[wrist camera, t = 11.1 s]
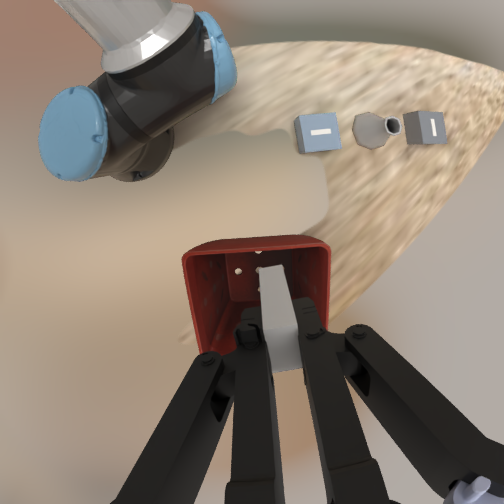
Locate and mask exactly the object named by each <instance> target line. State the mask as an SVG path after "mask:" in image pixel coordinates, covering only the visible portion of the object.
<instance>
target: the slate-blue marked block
mask: <svg viewBox="0 0 504 504" xmlns="http://www.w3.org/2000/svg"><path fill="white" fill-rule="evenodd" d="M294 124H295V130H296V136H297V141H298V147H299V153H300V154H301V153H309V152H318V151H327V150H335V149H342V146H341V140H340V134H339V128H338V123H337V117H336V112H335V113H322V114H311V115H301V116H298V117H297V118H296V119H295V120H294Z"/></svg>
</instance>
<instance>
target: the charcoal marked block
mask: <svg viewBox="0 0 504 504" xmlns="http://www.w3.org/2000/svg"><path fill="white" fill-rule="evenodd" d="M403 119H404V125H405V131H406V138H407V144H447V138H446V131H445V124H444V118H443V112H429V111H416V112H411V113H407V114H403Z"/></svg>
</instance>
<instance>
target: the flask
mask: <svg viewBox="0 0 504 504" xmlns="http://www.w3.org/2000/svg"><path fill="white" fill-rule="evenodd" d="M352 130H353V133H354V136H355V138H356V141H357V144H358V145H361V146H363V147H366V148H368V149H371V150H372V149H375V148H378V147H381V146H384V145H385V143H386V141H387V139H388V138H389V136H390V135H393V136H395V135H398V134H401V130H402V125H401V122H400V119H398V118H396V117H394V116H390V117H386V118H385V119H384V118H382V117H379V116H377V115H375V114H372V113H370V112H367V113H363V114H360V115H356V116H355V121H354V125H353V129H352Z"/></svg>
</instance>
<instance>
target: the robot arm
mask: <svg viewBox="0 0 504 504" xmlns="http://www.w3.org/2000/svg"><path fill="white" fill-rule="evenodd" d="M54 1H55V2H56V3H57V4H58V5H59V6H60V7H61V8H62V9H63V10H65V11H66V13H67V14H69V15H70V16H71V17H72V18H73V19H74V20H75V21H76V22H77V23H78V24H79V25H80V26H81V27H82V28H83V29H84V30H85V31H86V32H87V33H88V34H89V35H90V36H91V37H92V38H93V39H94V40H95V41H96V42H97V43H98V44H99V45H100V46H101V47H102V48H103V54H102V59H101V67H102V69H103V70H104V71H105V73H103V74H102V75H101V76H100V77H98V78H97V79H96V80H95V81H93V82H92V83H91V84H90V85H89V86H88V87H85V86H76V87H70V88H67V89H65V90H63V91H62V92H60V93H59V94H57V95H56V96H55V97H54V98H53V99H52V101H51V102H50V103H49V105H48V106H47V108H46V110H45V112H44V114H43V117H42V119H41V123H40V133H39V136H38V143H39V151H40V155H41V158H42V161H43V163H44V165H45V166H46V168H47V169H48V170H49V172H50V173H51V174H52V175H54V176H55V177H57V178H58V179H61V180H65V181H79V182H80V181H84V180H88V179H92V178H97V177H103V176H109V175H110V176H111V177H113V178H115V179H117V180H120V181H125V182H135V181H140V180H144V179H147V178H149V177H151V176H153V175H154V174H156V173H157V172H158V171H159V170H160V169H161V168H162V167H163V166H164V165H165V163H166V162H167V160H168V159H169V156H170V154H171V152H172V148H173V143H174V132H173V127H172V126H174V125H175V124H177V123H178V122H180V121H182V120H183V119H185V118H187V117H188V116H190V115H192V114H193V113H195V112H197V111H198V110H200V109H202V108H204V107H205V106H207V105H211V104H212V103H214V102H215V100H216V99H218V98H219V97H221V96H223V95H224V94H226V93H227V92H229V91H230V90H232V89H233V87H234V86H235V84H236V81H237V69H236V64H235V61H234V57H233V55H232V52H231V49H230V47H229V44H228V42H227V41H226V40H225V39H224V35H223V33H222V30H221V28H220V27H219V25H218V23H217V22H216V21H215V19H214V18H213V17H212V16H211V15H210V14H209V13H207V12H203V11H202V12H196V13H195V12H194V10H193V8H192V7H191V6H190V5H187V4H182V3H174V2H171V0H54ZM259 280H260V294H261V306H258V307H252V308H246V309H244V311H243V312H242V314H241V324H240V325H238V326H237V327H236V328H235V329H234V331H233V335H234V339H235V342H236V346H237V348H236V349H235V350H234V351H232V352H230V353H228V354H225V355H222V356H221V354H220V353H218V352H216V351H207V352H204V353H201V354H200V355H198V356H197V357H196V358H195V360H194V361H193V363H192V365H191V367H190V368H189V370H188V372H187V374H186V375H185V377H184V379H183V381H182V383H181V384H180V386H179V388H178V390H177V391H176V393H175V395H174V397H173V399H172V400H171V402H170V404H169V406H168V407H167V409H166V411H165V413H164V414H163V416H162V418H161V420H160V421H159V423H158V425H157V427H156V429H155V430H154V432H153V434H152V436H151V437H150V439H149V441H148V443H147V445H146V446H145V448H144V450H143V451H142V453H141V455H140V457H139V459H138V460H137V462H136V464H135V466H134V467H133V469H132V471H131V473H130V475H129V476H128V478H127V480H126V482H125V483H124V485H123V487H122V488H121V490H120V492H119V494H118V495H117V497H116V499H115V500H114V501H112V502H111V503H110V504H194V502H195V499H196V497H197V495H198V492H199V490H200V487H201V485H202V482H203V480H204V477H205V475H206V472H207V470H208V467H209V465H210V462H211V460H212V457H213V455H214V452H215V449H216V447H217V444H218V441H219V439H220V436H221V434H222V431H223V429H224V426H225V423H226V421H227V418H228V415H229V412H230V409H231V407H232V404H233V402H234V413H233V436H232V437H233V438H232V460H231V463H232V464H231V479H230V482H228V483H227V485H226V489H225V504H285V497H284V486H283V474H282V463H281V453H280V441H279V431H278V420H277V410H276V399H275V389H274V380H273V375H272V373H276V372H282V371H288V370H294V369H299V368H303V374H304V382H305V385H306V389H307V393H308V399H309V403H310V409H311V414H312V419H313V424H314V429H315V434H316V439H317V444H318V450H319V456H320V461H321V466H322V472H323V478H324V483H325V489H326V496H327V504H400V503H398V502H396V501H393V500H389V497H388V494H387V490H386V487H385V484H384V480H383V477H382V474H381V471H380V468H379V465H378V462H377V461H376V459H374V458H372V457H371V454H370V451H369V448H368V446H367V442H366V439H365V436H364V433H363V430H362V427H361V424H360V421H359V418H358V415H357V412H356V409H355V406H354V403H353V400H352V397H351V394H350V391H349V389H348V386H347V383H346V380H345V378H346V379H347V380H348V382H349V383H350V384H351V386H352V387H353V388H354V390H355V391H356V392H357V394H358V395H359V396H360V398H361V399H362V400H363V401H364V403H365V404H366V405H367V407H368V408H369V409H370V410H371V412H372V413H373V414H374V416H375V417H376V418H377V420H378V421H379V422H380V423H381V425H382V426H383V427H384V429H385V430H386V431H387V433H388V434H389V435H390V436H391V438H392V439H393V440H394V441H395V443H396V444H397V445H398V447H399V448H400V449H401V451H402V452H403V453H404V454H405V456H406V457H407V458H408V460H409V461H410V462H411V464H412V465H413V466H414V467H415V469H416V470H417V471H418V472H419V474H420V475H421V476H422V478H423V479H424V480H425V481H426V483H427V484H428V485H429V486H430V487H431V488H432V489H433V491H435V492H436V493H437V494H438V495H439V496H441V497H442V498H444V499H445V500H444V502H443V504H504V445H502V444H500V443H498V442H495V441H493V440H490V439H488V438H486V437H485V436H484V435H483V434H482V433H481V432H480V431H479V430H478V429H477V428H476V427H475V426H474V425H473V424H472V423H471V422H470V421H469V420H468V419H467V418H466V417H465V416H464V415H463V414H462V413H461V412H460V411H459V410H458V409H457V408H456V407H455V406H454V405H453V404H452V403H451V402H450V401H449V400H448V399H447V398H446V397H445V396H444V395H443V394H441V393H440V392H439V391H438V390H437V389H436V388H435V387H434V386H433V385H432V384H431V383H430V382H429V381H428V380H427V379H426V378H425V377H424V376H423V375H422V374H420V373H419V372H418V371H417V370H416V369H415V368H414V367H413V366H412V365H411V364H410V363H409V362H408V361H407V360H405V359H404V358H403V357H402V356H401V355H400V354H399V353H398V352H397V351H396V350H395V349H394V348H393V347H392V346H390V345H389V344H388V343H387V342H386V341H385V340H384V339H383V338H382V337H381V336H380V335H379V334H377V333H376V332H375V331H374V330H373V329H372V328H371V327H369V326H367V325H363V324H356V325H353V326H351V327H349V328H347V330H346V331H345V334H337V333H331V332H328V331H327V329H326V328H325V327H323V325H322V322H321V320H320V317H319V314H318V312H317V309H316V307H315V304H314V301H313V300H312V299H310V298H309V297H304V298H299V299H294V300H291V297H290V293H289V289H288V285H287V282H286V278H285V274H284V270H283V266H282V265H277V266H271V267H266V268H260V269H259ZM344 376H345V377H344Z"/></svg>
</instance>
